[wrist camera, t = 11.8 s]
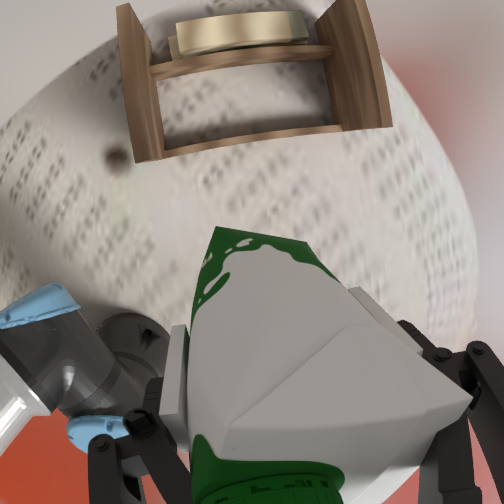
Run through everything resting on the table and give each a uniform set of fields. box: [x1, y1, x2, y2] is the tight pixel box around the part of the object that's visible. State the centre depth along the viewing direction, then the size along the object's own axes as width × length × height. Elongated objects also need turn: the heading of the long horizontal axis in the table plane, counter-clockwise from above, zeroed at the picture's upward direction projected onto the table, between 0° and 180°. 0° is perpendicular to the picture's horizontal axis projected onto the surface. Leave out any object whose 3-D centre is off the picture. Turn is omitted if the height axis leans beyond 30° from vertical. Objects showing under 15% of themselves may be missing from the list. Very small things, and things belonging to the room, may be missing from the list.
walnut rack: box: [116, 0, 393, 163], centre depth 33 cm, size 28×19×14 cm, turn 99°
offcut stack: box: [168, 10, 309, 61], centre depth 34 cm, size 20×6×6 cm, turn 102°
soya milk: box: [187, 226, 473, 504], centre depth 14 cm, size 9×9×20 cm
